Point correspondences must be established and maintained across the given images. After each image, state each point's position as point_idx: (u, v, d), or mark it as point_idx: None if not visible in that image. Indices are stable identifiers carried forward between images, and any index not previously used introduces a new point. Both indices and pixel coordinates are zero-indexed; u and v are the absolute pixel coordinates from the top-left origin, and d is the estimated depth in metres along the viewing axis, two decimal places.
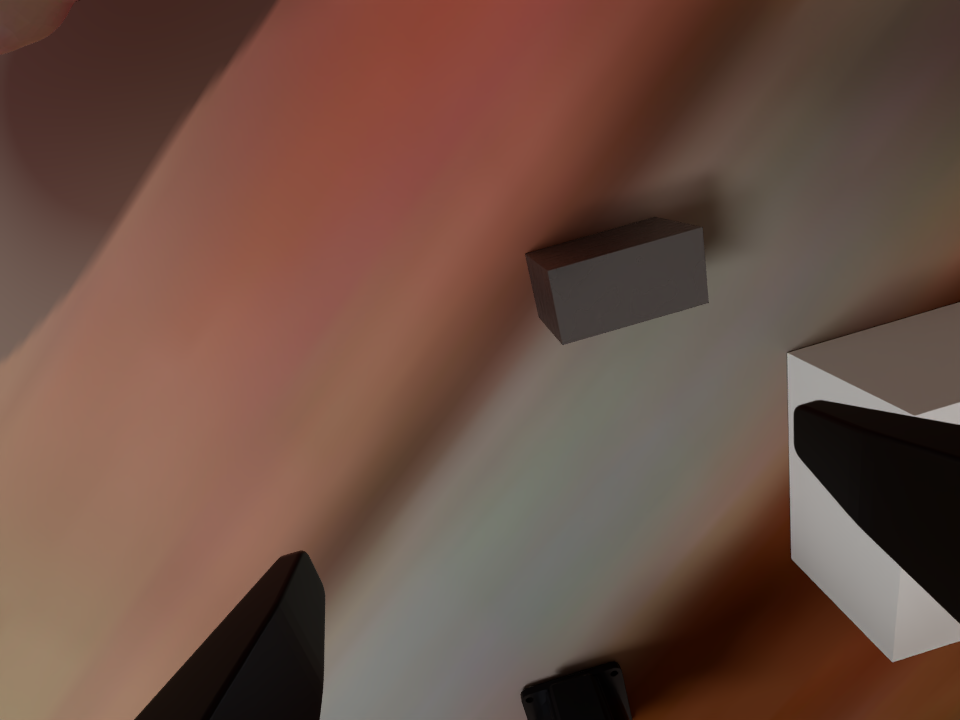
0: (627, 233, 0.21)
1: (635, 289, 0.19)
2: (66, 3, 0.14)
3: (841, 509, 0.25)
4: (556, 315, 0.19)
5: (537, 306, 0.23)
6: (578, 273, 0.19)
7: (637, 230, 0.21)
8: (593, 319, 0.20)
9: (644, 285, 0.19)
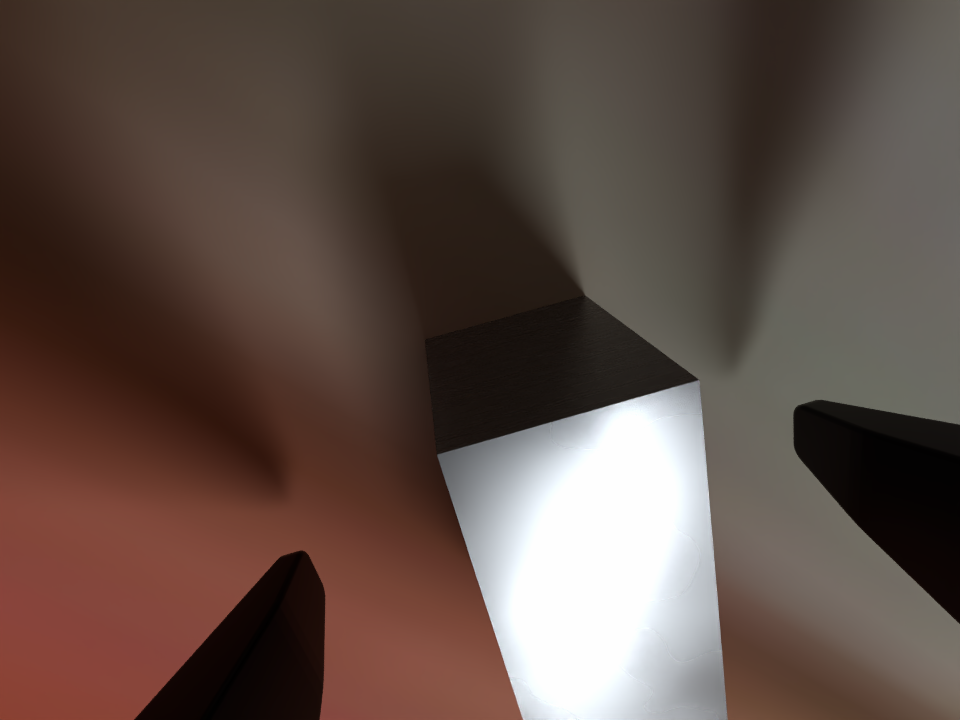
0: None
1: (615, 599, 0.07)
2: None
3: None
4: None
5: None
6: None
7: None
8: (678, 674, 0.07)
9: (606, 580, 0.07)
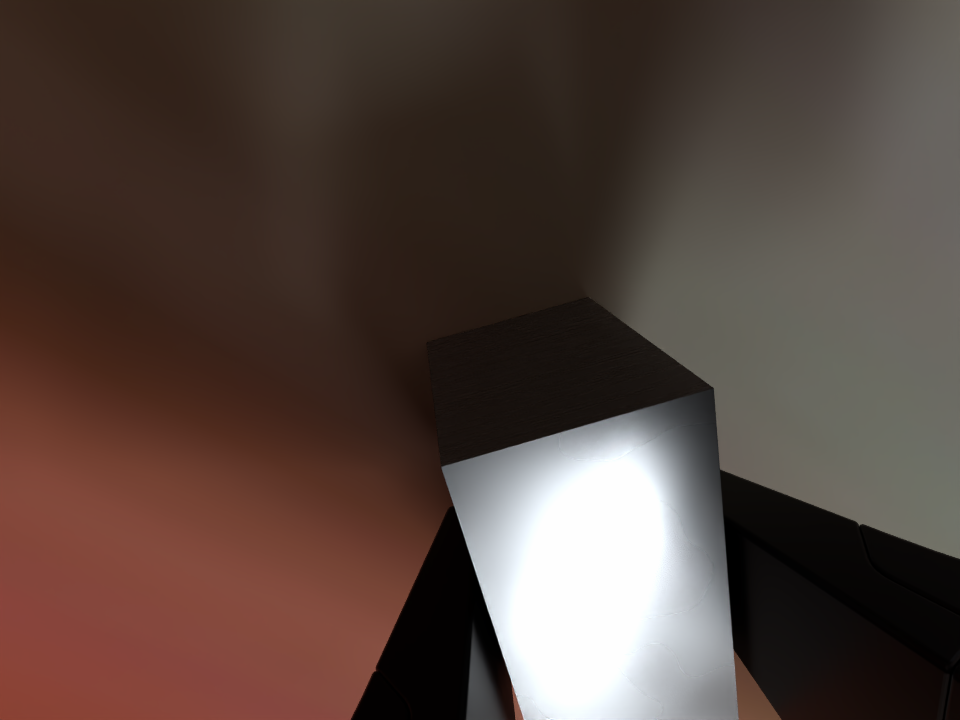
0: None
1: (625, 614, 0.06)
2: None
3: None
4: None
5: None
6: None
7: None
8: (690, 689, 0.07)
9: (615, 593, 0.06)
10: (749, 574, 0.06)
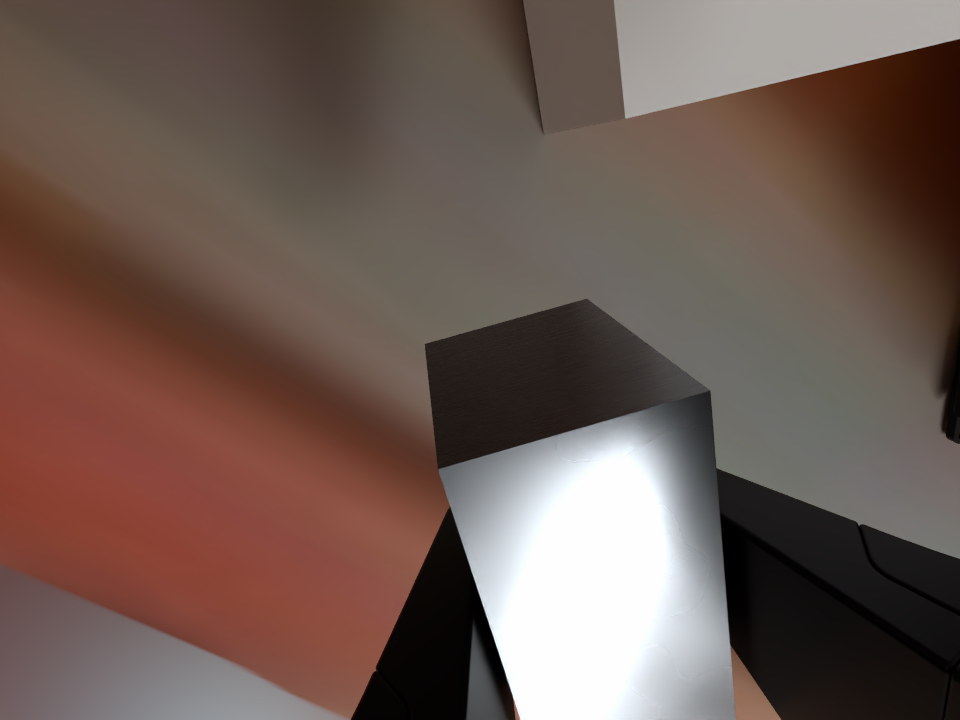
0: None
1: (623, 615, 0.06)
2: None
3: None
4: None
5: None
6: None
7: None
8: (687, 691, 0.07)
9: (613, 595, 0.06)
10: (749, 574, 0.06)
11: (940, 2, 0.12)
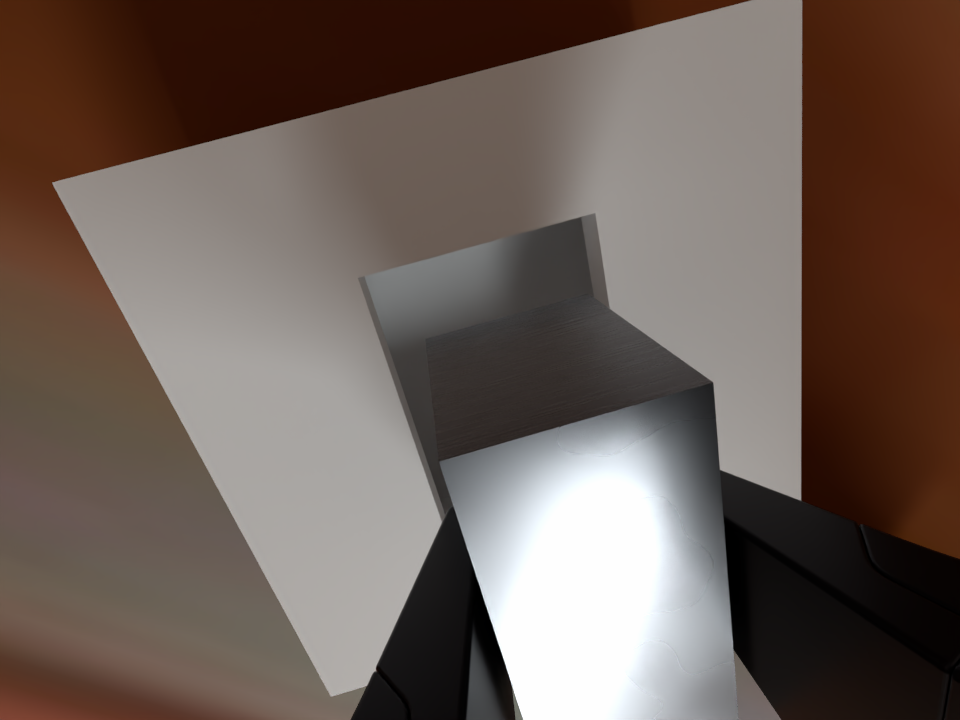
0: None
1: (625, 610, 0.06)
2: None
3: None
4: None
5: None
6: None
7: None
8: (690, 687, 0.07)
9: (615, 590, 0.06)
10: (749, 574, 0.06)
11: None
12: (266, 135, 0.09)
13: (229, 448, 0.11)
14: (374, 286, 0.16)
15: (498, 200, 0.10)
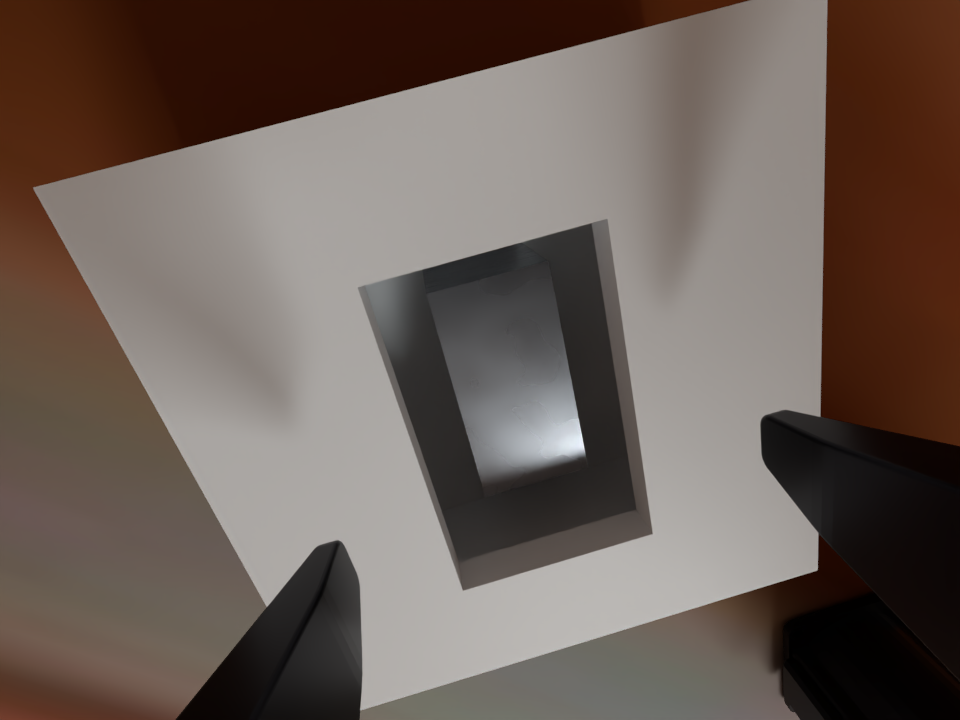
0: None
1: (518, 381, 0.13)
2: None
3: None
4: (546, 477, 0.14)
5: None
6: (491, 460, 0.14)
7: None
8: (556, 432, 0.14)
9: (512, 369, 0.13)
10: (925, 520, 0.06)
11: (593, 616, 0.14)
12: (260, 137, 0.09)
13: (222, 465, 0.11)
14: (375, 292, 0.16)
15: (505, 205, 0.10)
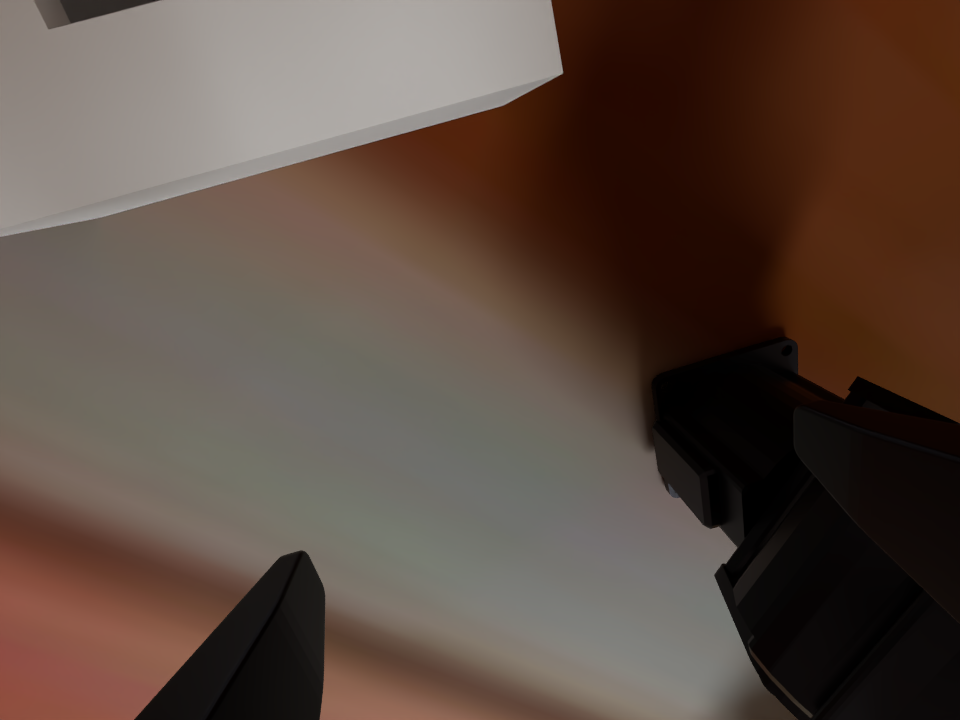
0: None
1: None
2: None
3: (287, 159, 0.14)
4: None
5: None
6: None
7: None
8: None
9: None
10: None
11: (257, 111, 0.10)
12: None
13: None
14: None
15: None
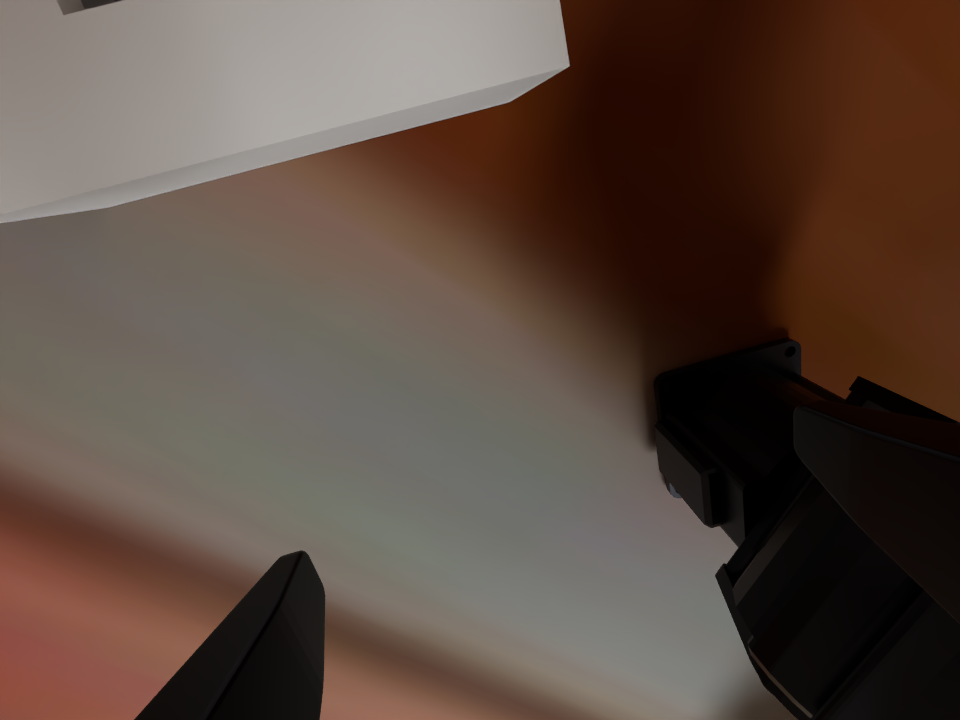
0: None
1: None
2: None
3: (295, 149, 0.14)
4: None
5: None
6: None
7: None
8: None
9: None
10: None
11: (266, 98, 0.11)
12: None
13: None
14: None
15: None
